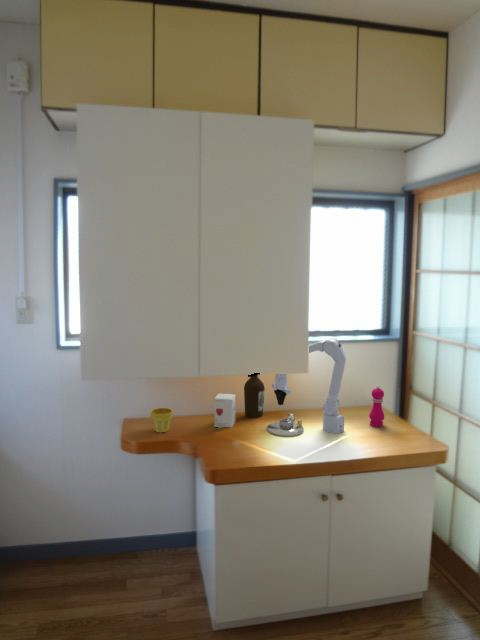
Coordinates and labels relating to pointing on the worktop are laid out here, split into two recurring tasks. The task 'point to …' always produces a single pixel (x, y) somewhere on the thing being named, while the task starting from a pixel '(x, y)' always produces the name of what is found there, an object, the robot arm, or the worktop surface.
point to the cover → (286, 424)
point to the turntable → (276, 430)
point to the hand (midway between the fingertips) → (280, 404)
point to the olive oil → (254, 397)
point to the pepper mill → (377, 408)
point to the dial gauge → (290, 416)
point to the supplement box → (224, 410)
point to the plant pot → (161, 419)
